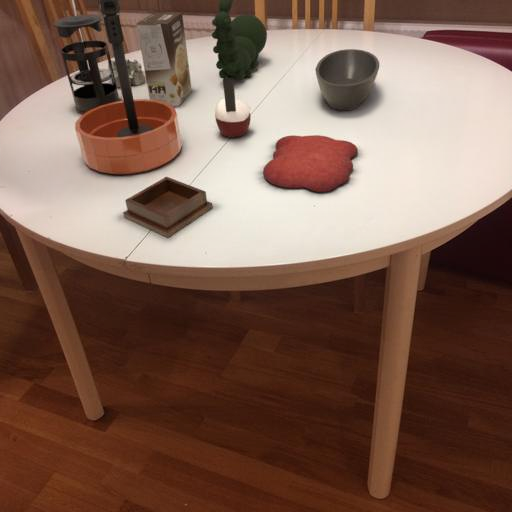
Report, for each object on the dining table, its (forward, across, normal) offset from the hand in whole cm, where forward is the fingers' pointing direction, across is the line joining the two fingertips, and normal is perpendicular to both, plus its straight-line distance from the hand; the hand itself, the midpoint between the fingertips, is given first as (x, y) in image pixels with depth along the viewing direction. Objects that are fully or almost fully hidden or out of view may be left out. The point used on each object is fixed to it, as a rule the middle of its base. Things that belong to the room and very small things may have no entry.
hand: (115, 40), depth 78 cm
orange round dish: (+19, -1, -1) cm, 19 cm away
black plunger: (+17, 0, 0) cm, 17 cm away
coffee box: (+19, -25, +10) cm, 33 cm away
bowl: (+19, -10, +43) cm, 48 cm away
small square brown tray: (+19, +20, +2) cm, 28 cm away
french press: (+19, -27, -6) cm, 34 cm away
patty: (+19, +14, +26) cm, 35 cm away
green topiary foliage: (+19, -35, +28) cm, 49 cm away
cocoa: (+19, -2, +17) cm, 26 cm away
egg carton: (+19, -41, +2) cm, 46 cm away
